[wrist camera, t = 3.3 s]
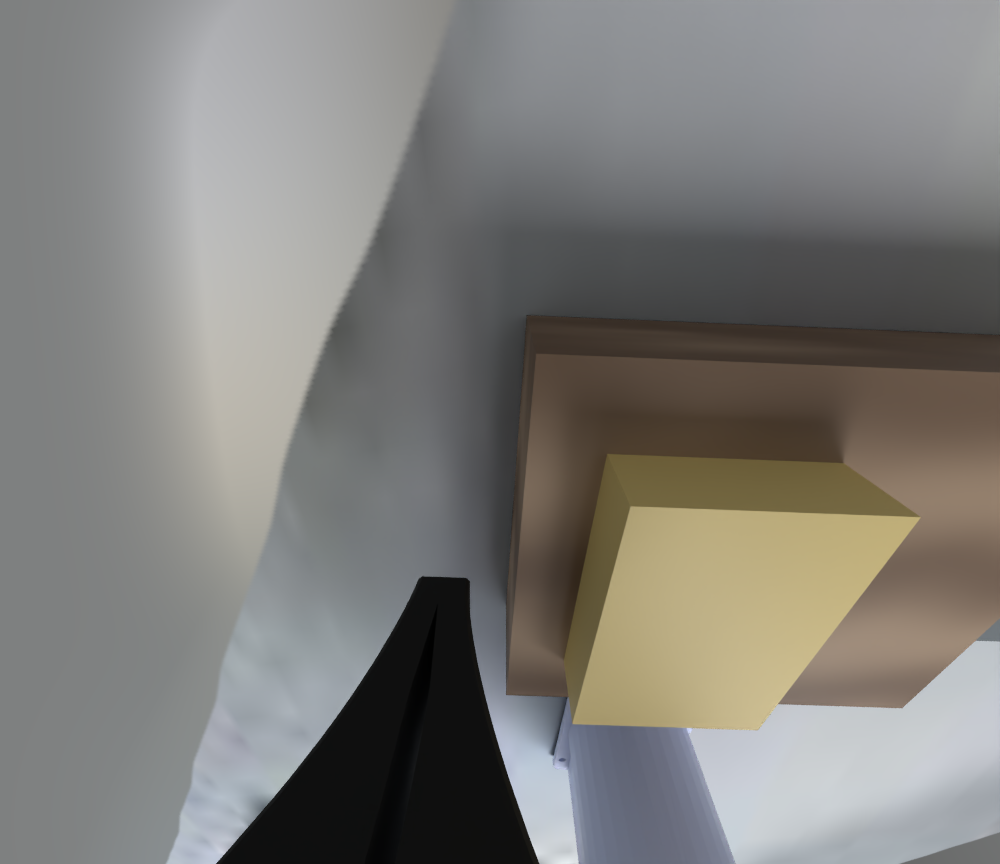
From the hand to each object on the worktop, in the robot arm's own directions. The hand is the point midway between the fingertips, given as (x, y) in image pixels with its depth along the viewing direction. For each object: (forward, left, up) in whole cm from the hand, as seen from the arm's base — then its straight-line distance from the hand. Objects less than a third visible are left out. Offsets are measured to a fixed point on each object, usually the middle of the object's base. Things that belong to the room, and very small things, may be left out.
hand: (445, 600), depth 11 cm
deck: (0, -10, -5) cm, 11 cm away
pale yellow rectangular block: (0, -7, -1) cm, 7 cm away
